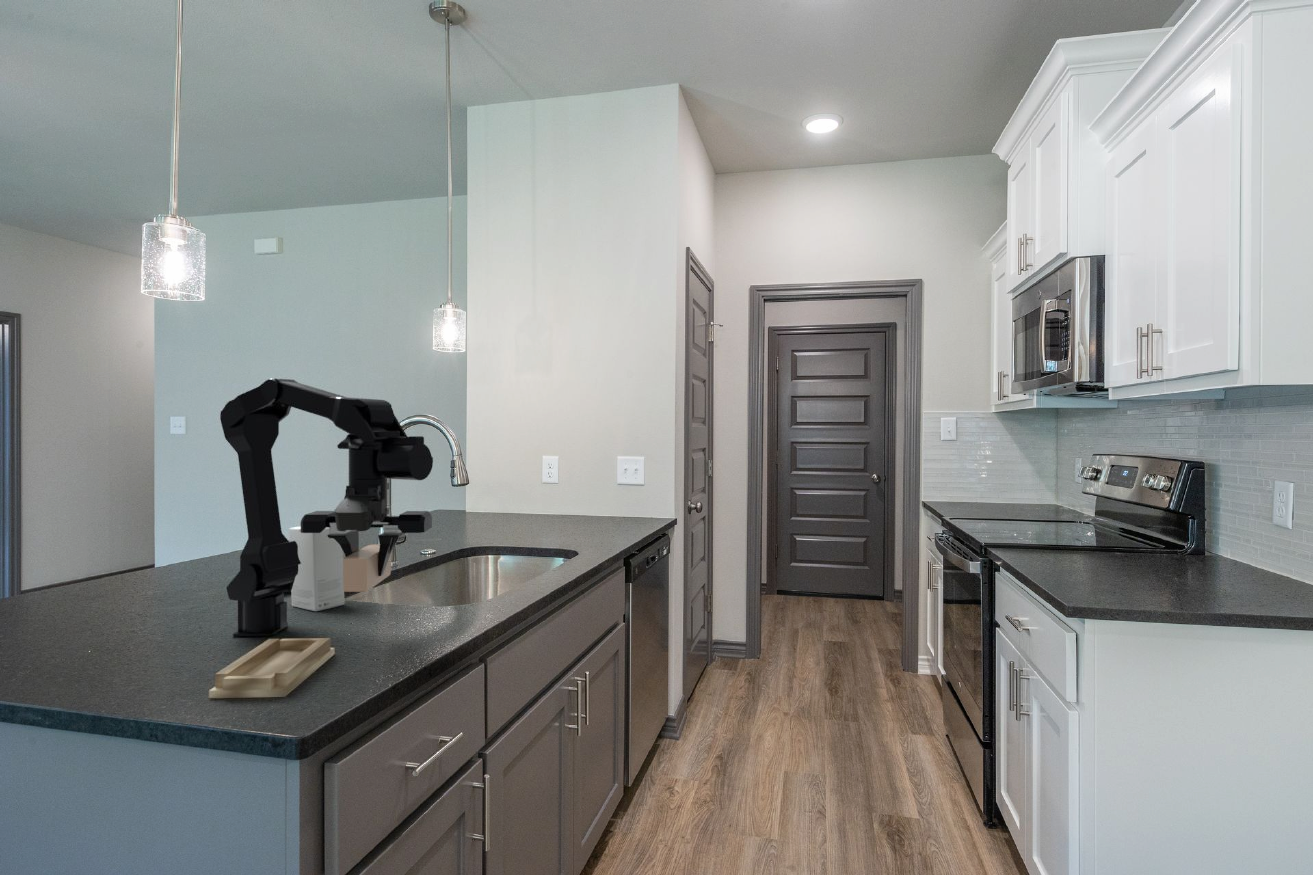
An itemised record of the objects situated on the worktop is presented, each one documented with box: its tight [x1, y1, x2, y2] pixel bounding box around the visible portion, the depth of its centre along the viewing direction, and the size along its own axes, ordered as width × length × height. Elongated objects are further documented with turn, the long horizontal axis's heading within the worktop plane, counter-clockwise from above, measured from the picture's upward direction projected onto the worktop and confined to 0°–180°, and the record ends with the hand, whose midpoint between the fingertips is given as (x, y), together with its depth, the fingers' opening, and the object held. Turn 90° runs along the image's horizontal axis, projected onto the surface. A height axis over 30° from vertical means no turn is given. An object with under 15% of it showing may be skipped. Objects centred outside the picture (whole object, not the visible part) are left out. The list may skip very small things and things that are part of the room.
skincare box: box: [288, 525, 346, 612], centre depth 137 cm, size 8×7×16 cm
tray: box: [208, 637, 336, 699], centre depth 100 cm, size 10×17×3 cm, turn 4°
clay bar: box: [343, 544, 392, 593], centre depth 112 cm, size 4×12×5 cm, turn 5°
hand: (368, 575), depth 112 cm, fingers closed on clay bar, 3 cm apart
